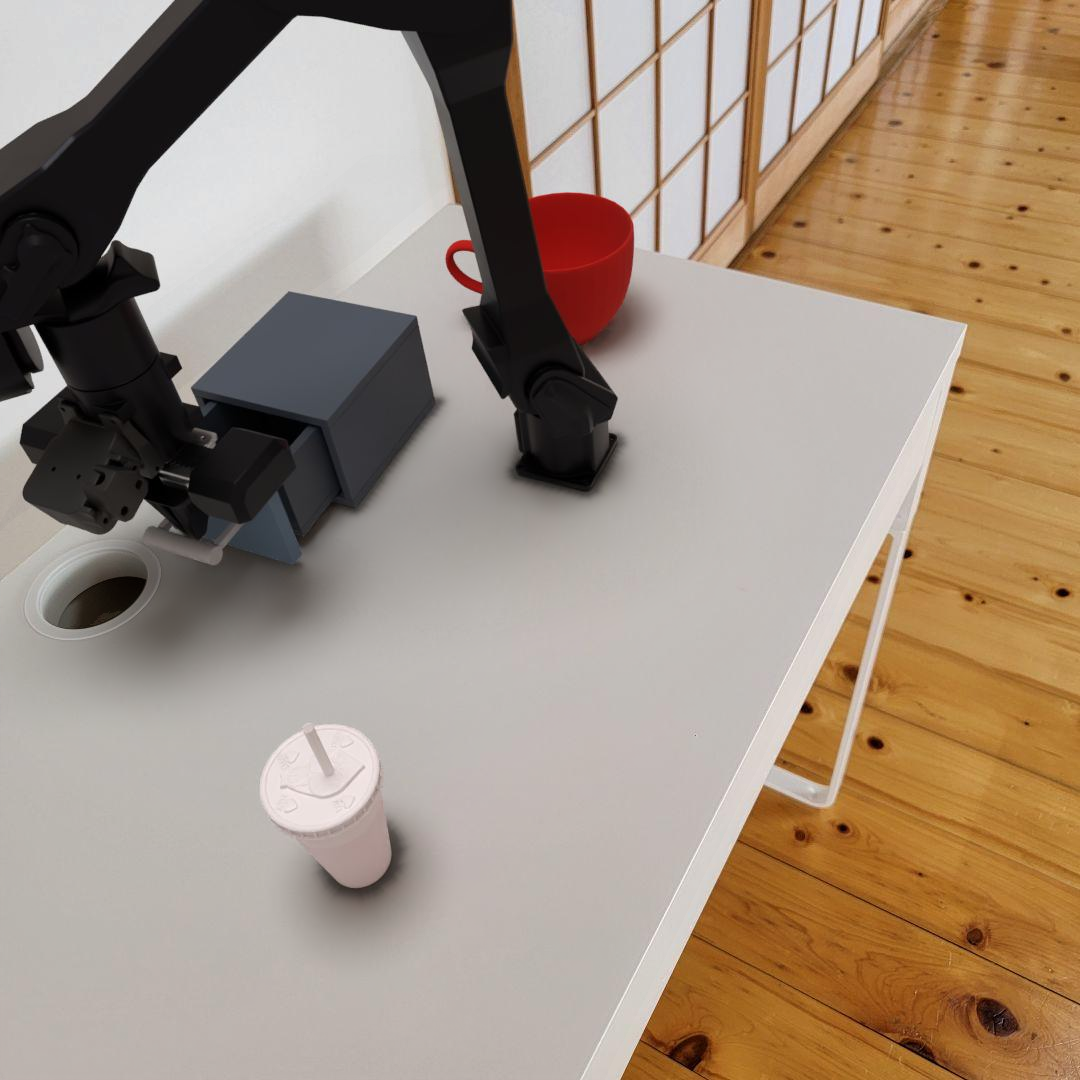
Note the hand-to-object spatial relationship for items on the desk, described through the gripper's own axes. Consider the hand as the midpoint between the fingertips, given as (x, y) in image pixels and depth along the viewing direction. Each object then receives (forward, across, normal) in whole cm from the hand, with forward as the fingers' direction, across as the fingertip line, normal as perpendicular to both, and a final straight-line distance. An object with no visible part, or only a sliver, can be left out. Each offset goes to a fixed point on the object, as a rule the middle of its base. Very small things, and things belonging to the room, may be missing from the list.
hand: (198, 536), depth 72 cm
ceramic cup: (+5, +11, +36) cm, 38 cm away
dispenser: (+4, 0, +16) cm, 17 cm away
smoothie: (+4, +22, -15) cm, 27 cm away
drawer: (+3, 0, +6) cm, 7 cm away
